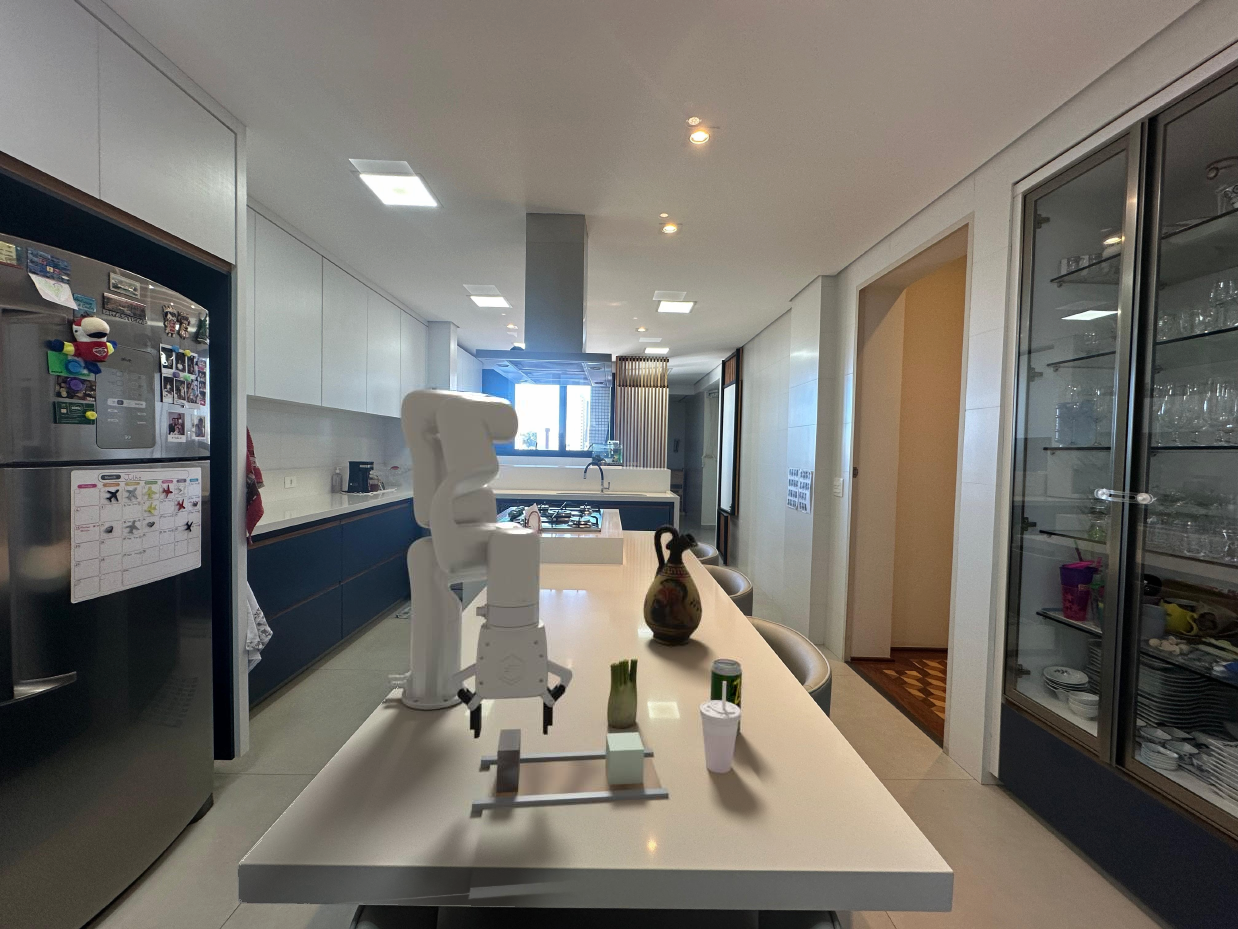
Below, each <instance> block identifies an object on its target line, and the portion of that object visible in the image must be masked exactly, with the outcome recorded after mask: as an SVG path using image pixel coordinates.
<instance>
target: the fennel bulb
mask: <svg viewBox="0 0 1238 929" xmlns="http://www.w3.org/2000/svg"><path fill="white" fill-rule="evenodd" d="M629 664H630V665H629ZM637 673H638V658H631V659H630V662H629V659H627V658H625V659H622V660H619V661H618V662H612V663H610V690H609V694H608V695H609V696H608V702H607V712H606V713H607V714H606V715H607V716H606V717H607V718H606V720H607V723H608V725H609V726H610V727H611V728H615V729H622V730H623V729H629V728H632V727H633V726H634V725H635V723H636V720H637V714H638V713H637V711H638V688H637V687H638V686H637V676H638V674H637Z"/></svg>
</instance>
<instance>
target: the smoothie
mask: <svg viewBox="0 0 1238 929" xmlns="http://www.w3.org/2000/svg"><path fill="white" fill-rule="evenodd" d="M698 712H699V714H698V715H699V716H700V717H701V724H702V735H703V736H702V738H703V746H704V758H705V759H704V760H705V767H706V769H708V770H709V771H710V772H713V773H717V774H725V773H726V774H727V773H728V772H730V771H731V769H732V763H733V759H734V758H733V757H734V751H735V747H736V746H735V744H736V739H737V738H736V737H737V735H738V734H737V728H738V721H740V722H741V720H742V709H741V710H740V708H739V707H738V706H736V705H735V704H732V703H730V702H727V701H726V681H723V689H722V701H721V700H711V701H710V700H707V701H704V702H702V703H701V704H700V705H699V711H698ZM740 719H741V720H740ZM736 734H737V735H736Z"/></svg>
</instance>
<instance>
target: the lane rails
mask: <svg viewBox="0 0 1238 929" xmlns="http://www.w3.org/2000/svg"><path fill="white" fill-rule="evenodd" d="M654 754H655V753H654V749H653V748H649V747H648V748H644V757H652V756H654ZM587 759H606V749H604V750H585V751H582V750H581V751H560V752H559V751H558V752H540V753H539V752H538V753H523V754H522V753H520V763H522V762H544V761H565V760H587ZM491 764H497V754H494V755H492V754H491V755H481V756H480V768H491ZM669 795H670V794H669V791H668V788H667V787H662V788H658V789H640V790H621V791H603V792H584V793H566V794H548V795H529V796H511V797H492V796H491V797H478V798H472V801H471V802H472V804H471V813H483V811H484V808H497V807H498V808H499V807H513V806H514V807H515V806H516V807H517V806H531V805H533V806H534V805H535V806H536V805H548V804H566V803H567V804H568V803H587V802H600V801H601V802H602V801H604V802H605V801H618V800H619V801H621V800H637V799H638V800H639V799H640V800H641V799H657V798H669Z"/></svg>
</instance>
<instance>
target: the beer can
mask: <svg viewBox="0 0 1238 929" xmlns="http://www.w3.org/2000/svg"><path fill="white" fill-rule="evenodd" d="M710 669H711V671H710V700H709V701H711V700H721V701H722V689H723V681H726V701H727V702H730V703H732V704H735V705H736V706H738V707H739V708H740V710H741V711H742V688H743V686H742V681H743V669H742V665H741V663H740V662H739V661H737V660H733V659H728V658H718V659H715V660H713V661H712V666H711V668H710ZM741 720H742V718H741V719H740V721H738V728H737V734H736V736H738V735H739V732H740V731H741Z"/></svg>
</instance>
